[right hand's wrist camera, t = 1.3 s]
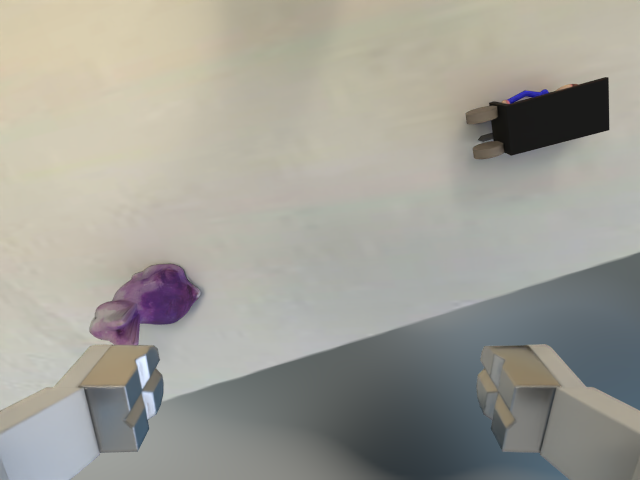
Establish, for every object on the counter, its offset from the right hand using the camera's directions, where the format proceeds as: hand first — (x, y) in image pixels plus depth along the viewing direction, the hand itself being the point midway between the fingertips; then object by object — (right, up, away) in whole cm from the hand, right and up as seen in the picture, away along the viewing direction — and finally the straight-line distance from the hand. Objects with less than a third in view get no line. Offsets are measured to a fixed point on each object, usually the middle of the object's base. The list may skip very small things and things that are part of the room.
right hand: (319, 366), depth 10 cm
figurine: (-24, -4, +53) cm, 58 cm away
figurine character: (+26, +19, +44) cm, 55 cm away
